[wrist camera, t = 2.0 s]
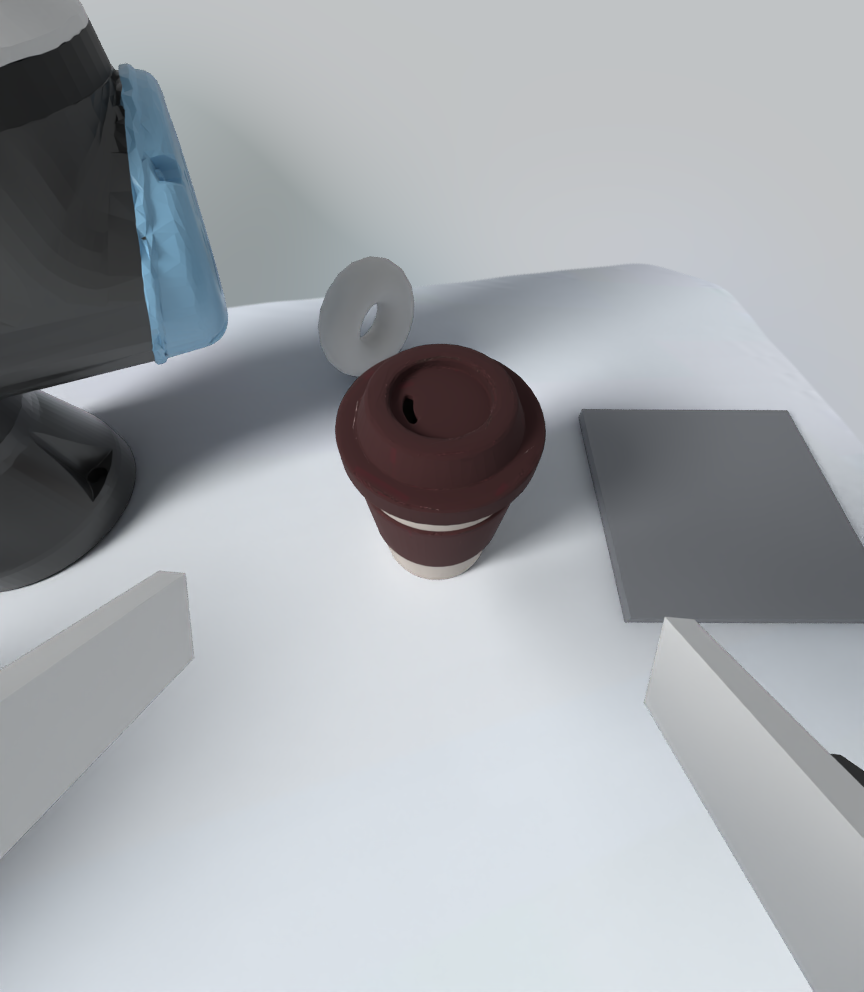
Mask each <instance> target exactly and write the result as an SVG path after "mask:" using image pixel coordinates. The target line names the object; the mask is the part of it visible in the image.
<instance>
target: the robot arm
mask: <svg viewBox="0 0 864 992" xmlns="http://www.w3.org/2000/svg"><path fill="white" fill-rule="evenodd" d="M227 324H228V312H227V307H226V302H225V298H224V293H223V290H222V286H221V282H220V278H219V274H218V271H217V267H216V264H215V260H214V256H213V253H212V250H211V246H210V243H209V239H208V236H207V232H206V229H205V226H204V222H203V219H202V216H201V212H200V209H199V205H198V202H197V199H196V195H195V192H194V188H193V185H192V182H191V179H190V176H189V172H188V169H187V166H186V162H185V159H184V156H183V153H182V150H181V147H180V143H179V141H178V137H177V134H176V131H175V129H174V126H173V123H172V121H171V118H170V115H169V112H168V109H167V106H166V103H165V100H164V96H163V93H162V91H161V88H160V86H159V84H158V82H157V80H156V79H155V78H154V77H153V76H152V75H151V74H150V73H148V72H146V71H144V70H139V69H134V68H133V67H132V66H131V65H129V64H121V65H119V70H115V69H114V68H113V66H112V65H111V64H110V62H109V60H108V58H107V56H106V53H105V52H104V49H103V47H102V45H101V43H100V41H99V39H98V37H97V35H96V33H95V31H94V29H93V26H92V24H91V22H90V20H89V18H88V16H87V14H86V12H85V10H84V8H83V6H82V4H81V2H80V1H79V0H0V592H3V591H8V590H13V589H16V588H20V587H23V586H26V585H29V584H32V583H35V582H37V581H40V580H42V579H44V578H46V577H49V576H51V575H52V574H54V573H56V572H58V571H60V570H62V569H63V568H65V567H67V566H68V565H70V564H71V563H73V562H74V561H76V560H77V559H79V558H80V557H81V556H83V555H84V554H85V553H87V552H88V551H89V550H90V549H91V548H93V547H94V546H95V545H96V544H97V543H98V542H99V541H100V540H101V539H102V538H103V537H104V536H105V535H106V534H107V533H108V532H109V530H110V529H111V528H112V527H113V526H114V524H115V523H116V522H117V520H118V519H119V517H120V516H121V514H122V513H123V511H124V509H125V508H126V506H127V503H128V501H129V499H130V497H131V494H132V491H133V488H134V483H135V476H136V467H135V460H134V457H133V454H132V452H131V450H130V448H129V446H128V445H127V443H126V442H125V441H124V440H123V439H122V438H121V437H120V436H119V435H118V434H117V433H116V432H115V431H114V430H112V429H111V428H110V427H109V426H108V425H107V424H106V423H105V422H103V421H102V420H101V419H99V418H98V417H96V416H94V415H93V414H91V413H88V412H86V411H84V410H82V409H80V408H78V407H76V406H73V405H71V404H69V403H67V402H65V401H63V400H60V399H58V398H56V397H54V396H52V395H50V394H48V393H45V392H43V391H41V390H40V389H44V388H48V387H52V386H56V385H60V384H64V383H68V382H72V381H76V380H80V379H84V378H88V377H92V376H96V375H100V374H104V373H108V372H112V371H116V370H120V369H124V368H128V367H132V366H136V365H140V364H144V363H148V362H152V361H155V363H157V364H158V365H159V364H163V363H165V362H166V361H167V359H168V358H170V357H173V356H176V355H180V354H183V353H187V352H190V351H193V350H197V349H200V348H204V347H207V346H210V345H212V344H214V343H216V342H217V341H218V340H219V339H220V338H221V337H222V336H223V335H224V333H225V331H226V328H227ZM193 659H194V653H193V643H192V633H191V623H190V613H189V603H188V593H187V583H186V573H177V572H166V571H158V572H156V573H155V574H153V575H152V576H150V577H148V578H147V579H145V580H144V581H142V582H140V583H139V584H137V585H136V586H134V587H132V588H131V589H129V590H128V591H126V592H124V593H123V594H121V595H120V596H118V597H116V598H115V599H113V600H112V601H110V602H108V603H107V604H105V605H104V606H102V607H100V608H99V609H97V610H96V611H94V612H92V613H91V614H89V615H88V616H86V617H84V618H83V619H81V620H80V621H78V622H76V623H75V624H73V625H72V626H70V627H68V628H67V629H65V630H63V631H62V632H60V633H59V634H57V635H55V636H54V637H52V638H51V639H49V640H47V641H46V642H44V643H43V644H41V645H39V646H38V647H36V648H35V649H33V650H31V651H30V652H28V653H27V654H25V655H23V656H22V657H20V658H19V659H17V660H15V661H14V662H12V663H11V664H9V665H7V666H6V667H4V668H3V669H1V670H0V859H1V858H2V857H3V856H4V855H5V854H6V853H7V852H8V851H9V850H10V849H11V848H12V847H13V846H14V845H15V844H16V843H17V842H18V841H19V840H20V839H21V837H22V836H23V835H24V834H25V833H26V832H27V831H28V830H29V829H30V828H31V827H32V826H33V825H34V824H35V823H36V822H37V821H38V820H39V819H40V818H41V817H42V816H43V815H44V814H45V813H46V811H47V810H48V809H49V808H50V807H51V806H52V805H53V804H54V803H55V802H56V801H57V800H58V799H59V798H60V797H61V796H62V795H63V794H64V793H65V792H66V791H67V790H68V789H69V788H70V787H71V785H72V784H73V783H74V782H75V781H76V780H77V779H78V778H79V777H80V776H81V775H82V774H83V773H84V772H85V771H86V770H87V769H88V768H89V767H90V766H91V765H92V764H93V763H94V762H95V761H96V759H97V758H98V757H99V756H100V755H101V754H102V753H103V752H104V751H105V750H106V749H107V748H108V747H109V746H110V745H111V744H112V743H113V742H114V741H115V740H116V739H117V738H118V737H119V736H120V735H121V734H122V732H123V731H124V730H125V729H126V728H127V727H128V726H129V725H130V724H131V723H132V722H133V721H134V720H135V719H136V718H137V717H138V716H139V715H140V714H141V713H142V712H143V711H144V710H145V709H146V708H147V706H148V705H149V704H150V703H151V702H152V701H153V700H154V699H155V698H156V697H157V696H158V695H159V694H160V693H161V692H162V691H163V690H164V689H165V688H166V687H167V686H168V685H169V684H170V683H171V682H172V680H173V679H174V678H175V677H176V676H177V675H178V674H179V673H180V672H181V671H182V670H183V669H184V668H185V667H186V666H187V665H188V664H189V663H190V662H191V661H192V660H193ZM644 704H645V706H646V707H647V709H648V711H649V712H650V714H651V716H652V717H653V719H654V721H655V723H656V724H657V726H658V728H659V729H660V731H661V733H662V735H663V736H664V738H665V740H666V741H667V743H668V745H669V746H670V748H671V750H672V752H673V753H674V755H675V757H676V758H677V760H678V762H679V763H680V765H681V767H682V769H683V770H684V772H685V774H686V775H687V777H688V779H689V781H690V782H691V784H692V786H693V787H694V789H695V791H696V792H697V794H698V796H699V798H700V799H701V801H702V803H703V804H704V806H705V808H706V810H707V811H708V813H709V815H710V816H711V818H712V820H713V821H714V823H715V825H716V827H717V828H718V830H719V832H720V833H721V835H722V837H723V838H724V840H725V842H726V844H727V845H728V847H729V849H730V850H731V852H732V854H733V856H734V857H735V859H736V861H737V862H738V864H739V866H740V867H741V869H742V871H743V873H744V874H745V876H746V878H747V879H748V881H749V883H750V884H751V886H752V888H753V890H754V891H755V893H756V895H757V896H758V898H759V900H760V902H761V903H762V905H763V907H764V908H765V910H766V912H767V913H768V915H769V917H770V919H771V920H772V922H773V924H774V925H775V927H776V929H777V931H778V932H779V934H780V936H781V937H782V939H783V941H784V942H785V944H786V946H787V948H788V949H789V951H790V953H791V954H792V956H793V958H794V959H795V961H796V963H797V965H798V966H799V968H800V970H801V971H802V973H803V975H804V977H805V978H806V980H807V982H808V983H809V985H810V987H811V988H812V990H813V992H864V771H863V770H862V769H860V768H859V767H857V766H856V765H854V764H853V763H852V762H850V761H849V760H847V759H846V758H844V757H843V756H841V755H837V754H830V753H829V752H828V751H827V750H826V749H825V748H823V747H822V746H821V745H820V744H819V743H818V742H817V741H816V740H815V739H814V738H813V737H812V736H811V735H810V734H809V733H808V732H807V731H806V730H805V729H804V728H803V727H802V726H801V725H800V724H799V723H798V722H797V721H796V720H795V719H794V718H793V717H792V716H791V715H790V714H789V713H788V712H787V711H786V710H785V709H784V708H783V707H782V706H781V705H780V704H779V703H778V702H777V701H776V700H775V699H774V698H773V697H772V696H771V695H770V694H769V693H768V692H767V691H766V690H765V689H764V688H763V687H762V686H761V685H760V684H759V683H758V682H757V681H756V680H755V679H754V678H753V677H752V676H751V675H750V674H749V673H748V672H747V671H746V670H745V669H744V668H743V667H742V666H741V665H740V664H739V663H738V662H737V661H736V660H735V659H734V658H733V657H732V656H731V655H730V654H729V653H728V652H727V651H726V650H725V649H724V648H723V647H722V646H721V645H720V644H719V643H718V642H717V641H715V640H714V639H713V638H712V637H711V636H710V635H709V634H708V633H707V632H706V631H705V630H704V629H703V628H702V627H701V626H700V625H699V624H698V623H697V622H696V621H695V620H694V619H685V618H674V617H665V618H664V622H663V626H662V630H661V634H660V638H659V642H658V646H657V651H656V655H655V659H654V663H653V667H652V671H651V675H650V679H649V683H648V687H647V691H646V695H645V699H644Z"/></svg>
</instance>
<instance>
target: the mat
mask: <svg viewBox="0 0 864 992" xmlns="http://www.w3.org/2000/svg"><path fill="white" fill-rule="evenodd" d="M579 421H580V426H581V430H582V434H583V439H584V443H585V448H586V452H587V457H588V461H589V465H590V470H591V474H592V479H593V483H594V488H595V492H596V496H597V501H598V505H599V510H600V514H601V519H602V523H603V527H604V532H605V536H606V541H607V545H608V550H609V554H610V558H611V563H612V567H613V572H614V576H615V581H616V585H617V589H618V594H619V598H620V603H621V607H622V612H623V616H624V621H625V622H664V618H665V617H674V618H685V619H694V620H695V621H696V622H697V623H864V547H863V546H862V544H861V542H860V540H859V538H858V537H857V535H856V533H855V531H854V529H853V528H852V526H851V524H850V522H849V520H848V519H847V517H846V515H845V513H844V511H843V510H842V508H841V506H840V504H839V502H838V501H837V499H836V497H835V495H834V493H833V492H832V490H831V488H830V486H829V484H828V483H827V481H826V479H825V477H824V475H823V474H822V472H821V470H820V468H819V466H818V465H817V463H816V461H815V459H814V457H813V456H812V454H811V452H810V450H809V448H808V447H807V445H806V443H805V441H804V439H803V438H802V436H801V434H800V432H799V430H798V429H797V427H796V425H795V423H794V421H793V420H792V418H791V416H790V414H789V412H788V411H787V410H611V409H582V411H581V413H580V415H579Z"/></svg>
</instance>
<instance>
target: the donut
mask: <svg viewBox="0 0 864 992" xmlns="http://www.w3.org/2000/svg"><path fill="white" fill-rule="evenodd" d="M375 304H377V313H376V318H375V320H374V322H373V325H372V326H371V328H370V329H369V331H368V332H367V333H366V334H365V335H364V336H362V337H360V330H361V325H362V322H363V320H364V317H365V315H366V314H367V312H368V311H369V310H370V308H371V307H372V306H373V305H375ZM413 314H414V298H413V292H412V286H411V284H410V282H409V281H408V279H407V277H406V275H405V274H404V271H403V270H402V269H401V268H400V267H398V266H397V265H396V264H394V263H393V262H391V261H390V260H389V259H386V258H379V257H367V258H363V259H361V260H358V261H355V262H353V263H351V264H350V265H349V266H347V267H346V268H345V269H344V270H343V271H342V272H340V273H339V274H338V275H337V277H336V278H335V280H334V282H333V283H332V284H331V286H330V287H329V289H328V290H327V293H326V295H325V298H324V301H323V303H322V306H321V309H320V317H319V324H318V330H319V338H320V344H321V347H322V349H323V351H324V353H325V355H326V357H327V359H328V361H329V362H330V363H331V364H332V365H333V366H334V367H335V368H337V369H338V370H339V371H340V372H342V373H344V374H347V375H351V376H356V377H360V376H361V375H362V374H363V373H364V372H365V371H367V370H368V369H369V368H371V367H372V366H374V365H375V364H377V363H379V362H381V361H383V360H385V359H387V358H389V357H391V356H394V355H396V354H398V352H399V351H400V350H401V348H402V347H403V345H404V343H405V341H406V339H407V336H408V334H409V332H410V328H411V324H412V321H413Z"/></svg>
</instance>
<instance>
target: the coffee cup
mask: <svg viewBox="0 0 864 992" xmlns="http://www.w3.org/2000/svg"><path fill="white" fill-rule="evenodd" d="M335 434H336V442H337V446H338V450H339V453H340V456H341V459H342V462H343V465H344V468H345V470H346V473H347V475H348V477H349V478H350V480H351V481H352V483H353V484H354V486H355V487H356V488H357V489H358V491H359V492H360V493H361V494H362V495H363V496H364V497H365V499H366V501H367V504H368V506H369V509H370V511H371V513H372V516H373V518H374V520H375V523H376V525H377V527H378V530H379V532H380V534H381V536H382V537H383V539H384V540H385V542H386V543H387V544H388V546H389V548H390V551H391V553H392V555H393V556H394V558H395V559H396V561H397V562H398V563H399V564H400V565H401V566H402V567H403V568H404V569H406V570H407V571H409V572H410V573H412V574H413V575H416V576H418V577H421V578H425V579H431V580H441V579H448V578H452V577H455V576H458V575H459V574H461V573H463V572H465V571H466V570H468V569H469V568H470V567H471V566H472V565H473V564H474V563H475V562H476V561H477V559H478V558H479V556H480V555H481V553H482V551H483V549H484V548H485V547H486V546H487V545H488V543H489V542H490V541H491V539H492V537H493V536H494V534H495V532H496V530H497V528H498V526H499V524H500V522H501V520H502V519H503V517H504V515H505V513H506V511H507V509H508V507H509V505H510V503H511V502H512V501H513V500H514V499H515V498H516V497H518V496H519V495H520V494H521V493H522V492H523V490H524V489H525V488H526V486H527V485H528V483H529V482H530V480H531V478H532V477H533V474H534V472H535V470H536V468H537V465H538V463H539V460H540V458H541V455H542V452H543V449H544V444H545V436H546V429H545V421H544V416H543V412H542V409H541V406H540V404H539V402H538V400H537V398H536V397H535V395H534V393H533V392H532V390H531V388H530V387H529V386H528V385H527V384H526V383H525V382H524V381H523V380H522V378H521V377H520V376H518V375H517V374H516V373H515V372H513V371H512V370H510V369H509V368H508V367H506V366H505V365H503V364H502V363H500V362H498V361H496V360H494V359H492V358H489V357H488V356H486V355H485V354H483V353H480V352H478V351H476V350H473V349H471V348H467V347H463V346H459V345H450V344H429V345H422V346H417V347H414V348H411V349H408V350H405V351H402V352H400V353H398V354H396V355H394V356H391V357H389V358H387V359H385V360H383V361H381V362H379V363H377V364H375V365H374V366H372V367H371V368H369V369H368V370H367V371H365V372H364V373H363V374H362V375H361V376H360V377H358V378H357V380H356V381H355V382H354V383H353V384H352V386H351V387H350V388H349V389H348V391H347V392H346V394H345V395H344V397H343V399H342V401H341V403H340V406H339V409H338V413H337V417H336V425H335Z"/></svg>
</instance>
